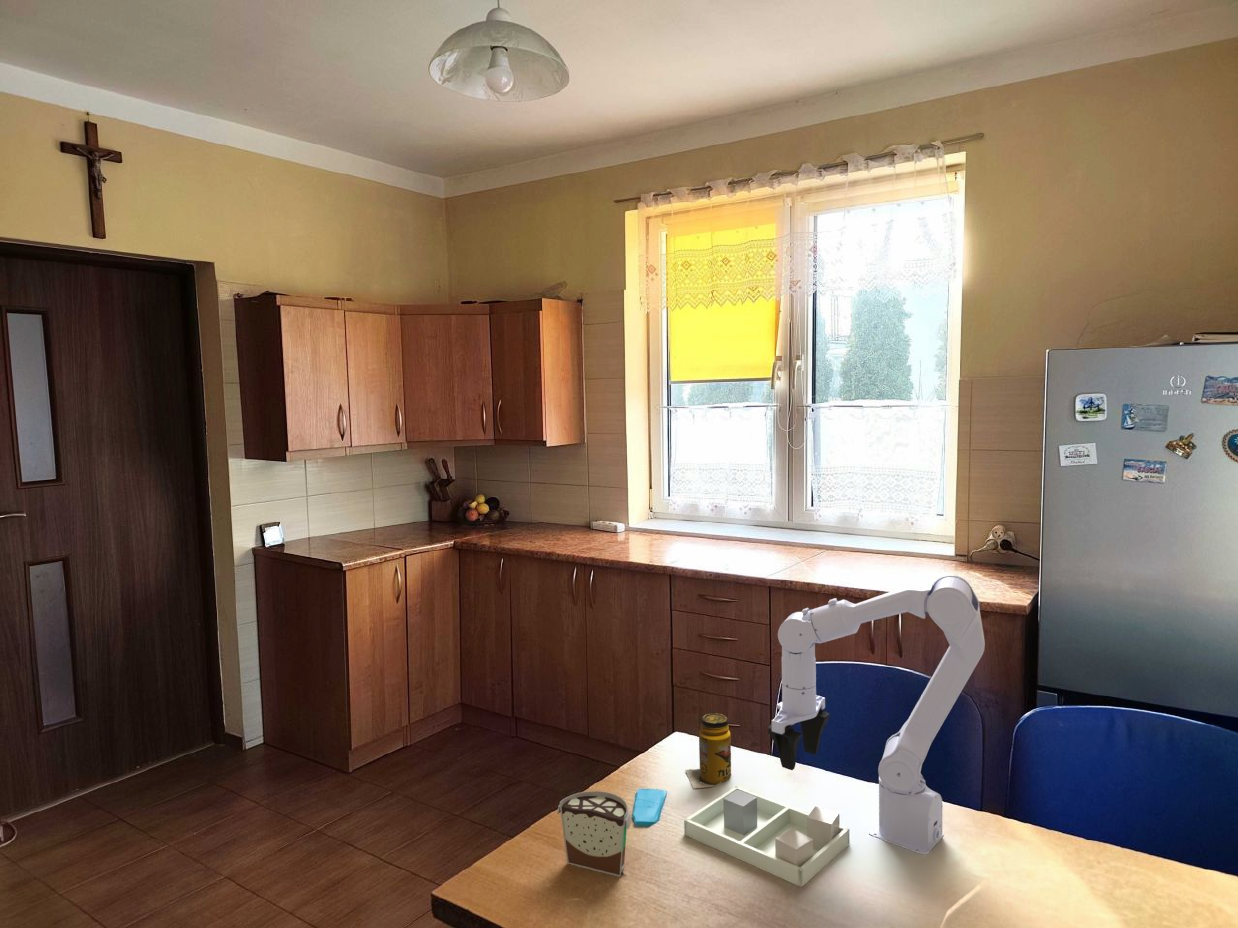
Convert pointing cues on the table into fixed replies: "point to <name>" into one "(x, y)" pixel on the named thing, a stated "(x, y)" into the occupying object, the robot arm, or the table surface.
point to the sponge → (648, 806)
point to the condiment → (712, 752)
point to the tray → (762, 837)
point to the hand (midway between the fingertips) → (799, 759)
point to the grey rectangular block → (740, 812)
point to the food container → (595, 830)
